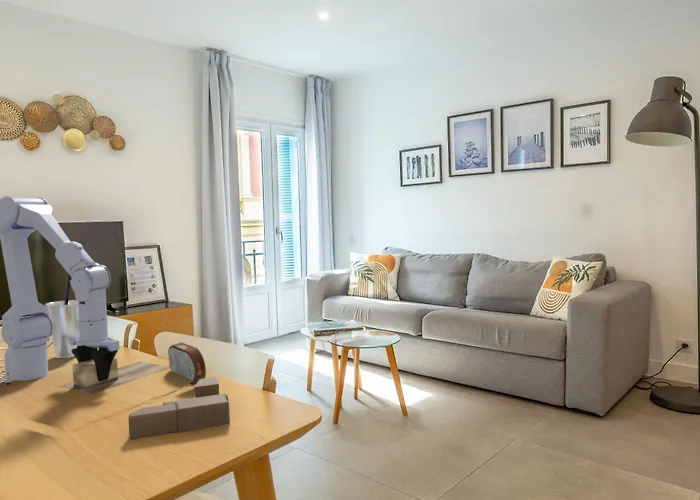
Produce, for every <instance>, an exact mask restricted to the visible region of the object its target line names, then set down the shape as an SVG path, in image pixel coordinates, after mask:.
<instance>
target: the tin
mask: <svg viewBox="0 0 700 500" xmlns="http://www.w3.org/2000/svg"><path fill="white" fill-rule="evenodd" d="M167 354H168V362H169V365H168V366H170V368H169V369H170V371H171V373H175V374H177V375H179V376H180V377H183V378H186V379H188V380H190V381H192V382H190V383H189V385H191V384H192V385H193V386H194V385H196V384H197V382H198V381H199V379H204V378H206V376H207V374H206V373H207V369H206V362H205V359H204V357H203V354H202V353H201V351H200V350H199V349H198V348H197V347H196V346H193V345H190V344H188V343H185V342H183V341H181V342H180V341H179V343H175V344H172V345H170V346H169V347H168V351H167Z"/></svg>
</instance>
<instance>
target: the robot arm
mask: <svg viewBox="0 0 700 500" xmlns="http://www.w3.org/2000/svg"><path fill="white" fill-rule="evenodd" d="M35 231H37V232H38V233H39V234H40V235H41V236H42V237H44V239H45V240H46V241H47V242H48V243H49V244H50V245H51V246H52V247H53V248H54V249H55V254H54V257H55V258H56V260H57V261H58V263H59V264H60V265H61V267H62V268H63V269H64V270H65V271H66V272H67V273H68V274H69V275H70V276H71V277H72V278H71V280H70V283H71V285H70V288H72V290H73V292H74V295H75V296H74V298H75V300H77V301H78V311H79V331H80V335H77V336H72V337H70V344H71V345H77V348H75V349H72V353H73V355H74V356H75V357H74V358H75V359H76V361H77V362H78V363H81V362H85V361H88V360H92V359H93V360H94V362H95V366H96V372H97V378H98V381H104V380H107V379H108V378H109V373H110V369H111V365H112V362H113V359H114V358H116V355H117V353H118V352H119V350H120V340H118V339H117V340H116V339H113V338H112V337H110V336H109V334H108V333H109V332H108V310H107V291H106V290H107V289H108V288H109V287H110V286H111V283H112V275H111V273H110V271H109V269H108V267H107V266H105V265H103V264H99V263H98V262H95V261H94V259H92V258H91V256H90V255H89V254H88V253H87V252H86V250H85V249H84V246H83V245H82V244H81V243H79V242H77V241H71V240H70V238H68V236H67V235H66V233H65V232H64V230H63V229H62V227H61V226H60V224H59V223H58V221H57V220H56V219H55V217H54V209H53V207H52V205H51V204H50V203H49V202H48V200H47V199H45V198H44V197H41V196H39V197H24V196H23V197H19V196H18V197H17V196H8V195H6V196H3V197H1V198H0V244H1V249H2V250H1V251H2V256H3V262H4V268H5V273H6V274H5V275H6V279H7V284H8V292H9V295H10V302H11V307H10V308H9V309H8V310H7V311H6V312H4V314H3V315H2V316H1V320H2V326H1V337H2V340H3V342H4V343H5V344H6V346H7V348H6V350H5V352H4V369H5V370H4V371H5V379H8V380H7V381H5V382H4V383H11V382H14V381H19V382H20V381H21V382H22V381H31V380H38V379H42V378H44V377H47V376H48V375H49V360H48V358H49V357H48V342H50V338H51V337H52V334H53V332H54V323H53V320H52V318H51V317H50V314H49V310H48V308H47V306H45V304H42V303H41V302H39V300H38V294H37V288H36V283H35V278H34V272H33V271H34V269H33V265H32V260H31V253H30V247H29V242H28V238H29V236H30V235H31V234H32V233H34V232H35ZM68 274H67V275H68ZM28 315H31V316H28ZM24 316H25V317H24Z"/></svg>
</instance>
